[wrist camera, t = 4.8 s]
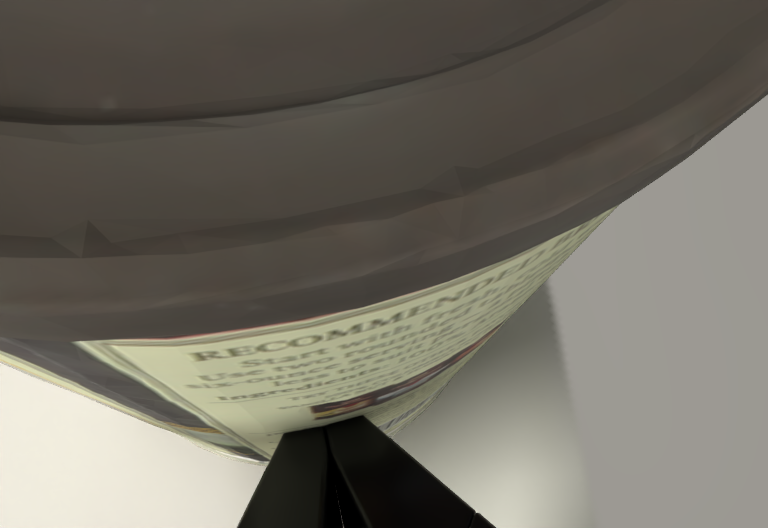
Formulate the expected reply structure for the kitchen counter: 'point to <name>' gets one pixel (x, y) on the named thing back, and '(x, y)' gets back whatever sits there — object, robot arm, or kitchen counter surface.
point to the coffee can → (324, 187)
